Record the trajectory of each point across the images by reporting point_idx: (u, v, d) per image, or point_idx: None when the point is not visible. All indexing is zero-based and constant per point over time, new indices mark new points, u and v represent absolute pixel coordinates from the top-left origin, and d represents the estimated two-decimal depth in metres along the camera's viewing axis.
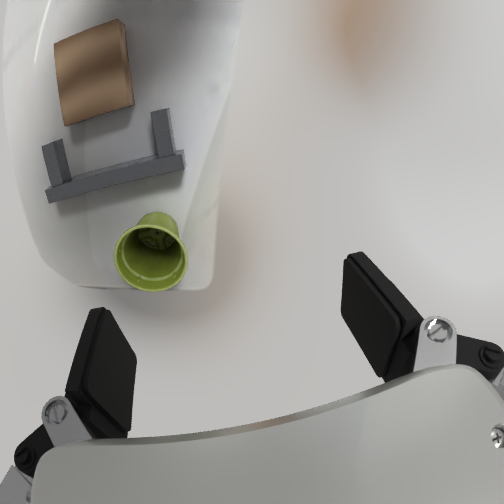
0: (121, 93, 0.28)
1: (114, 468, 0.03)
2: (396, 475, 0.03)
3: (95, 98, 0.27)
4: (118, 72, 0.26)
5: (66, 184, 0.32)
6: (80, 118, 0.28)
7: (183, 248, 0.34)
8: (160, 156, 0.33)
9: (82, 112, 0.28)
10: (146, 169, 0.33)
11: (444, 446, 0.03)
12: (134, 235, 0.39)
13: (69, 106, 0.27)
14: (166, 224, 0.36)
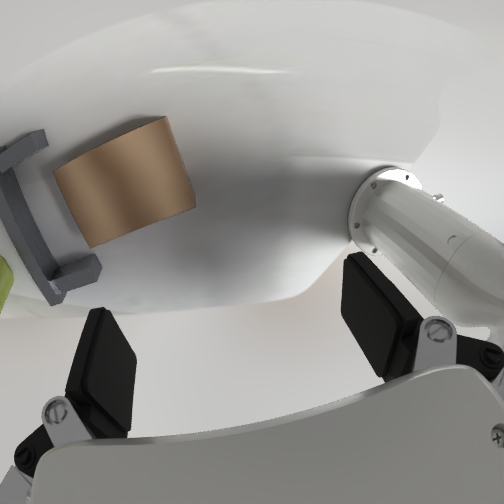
0: (100, 238, 0.26)
1: (114, 468, 0.03)
2: (396, 475, 0.03)
3: (89, 208, 0.25)
4: (123, 228, 0.26)
5: None
6: (63, 192, 0.23)
7: None
8: (52, 282, 0.28)
9: (70, 194, 0.23)
10: (36, 273, 0.26)
11: (444, 446, 0.03)
12: None
13: (75, 172, 0.23)
14: (3, 302, 0.26)
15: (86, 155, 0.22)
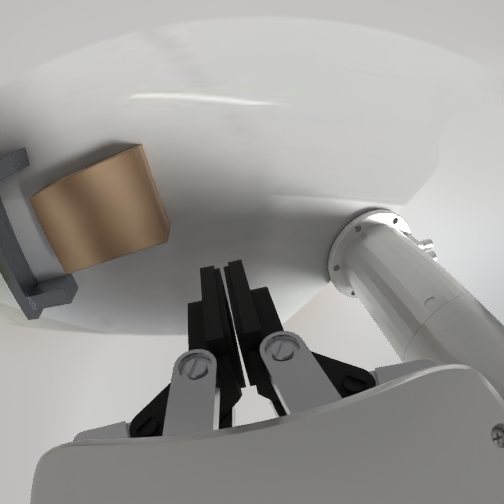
0: (75, 265, 0.25)
1: (114, 468, 0.03)
2: (396, 475, 0.03)
3: (64, 236, 0.24)
4: (97, 258, 0.26)
5: None
6: (40, 219, 0.22)
7: None
8: (30, 298, 0.27)
9: (46, 221, 0.23)
10: (15, 289, 0.25)
11: (444, 446, 0.03)
12: None
13: (50, 201, 0.22)
14: None
15: (60, 184, 0.21)
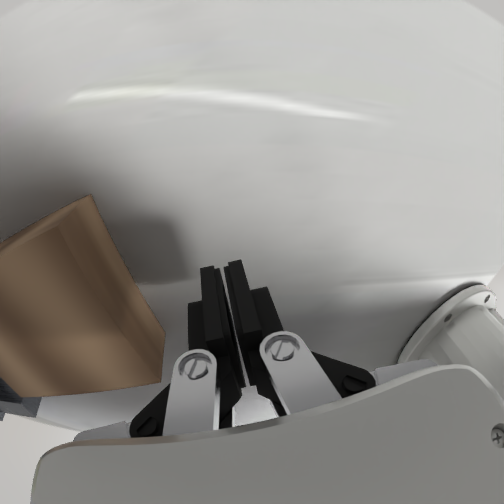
0: (28, 391, 0.13)
1: (114, 468, 0.03)
2: (396, 475, 0.03)
3: None
4: (53, 389, 0.13)
5: None
6: None
7: None
8: None
9: None
10: None
11: (444, 446, 0.03)
12: None
13: None
14: None
15: None
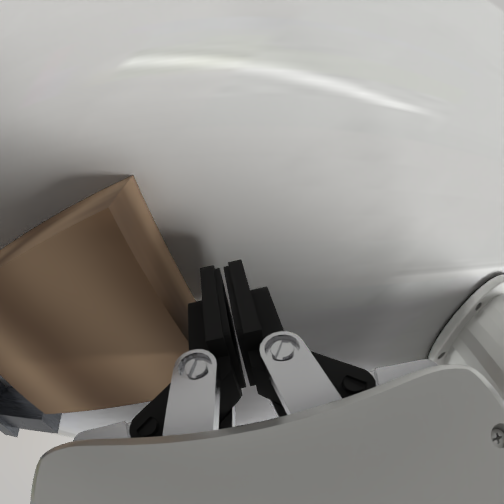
0: (54, 407, 0.12)
1: (114, 468, 0.03)
2: (396, 475, 0.03)
3: (18, 371, 0.10)
4: (86, 404, 0.12)
5: None
6: None
7: None
8: None
9: None
10: None
11: (444, 446, 0.03)
12: None
13: None
14: None
15: None
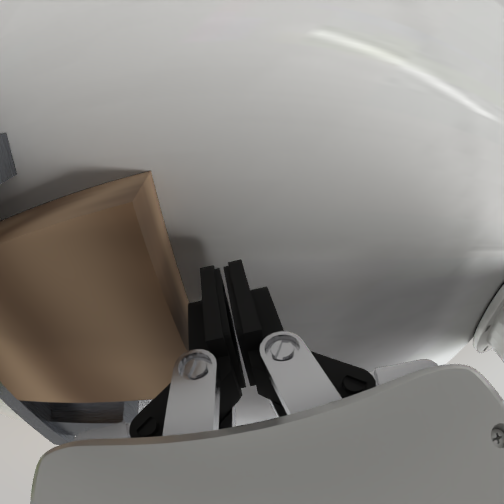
0: (29, 395, 0.11)
1: (114, 468, 0.03)
2: (396, 475, 0.03)
3: None
4: (64, 396, 0.11)
5: None
6: None
7: None
8: (53, 423, 0.13)
9: None
10: (23, 413, 0.12)
11: (444, 446, 0.03)
12: None
13: None
14: None
15: None
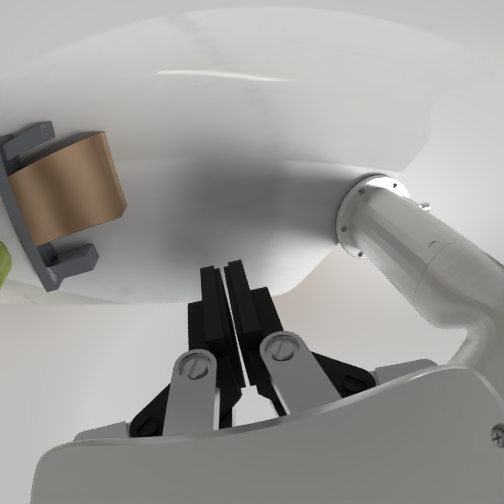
0: (43, 238, 0.26)
1: (114, 468, 0.03)
2: (396, 475, 0.03)
3: (34, 211, 0.25)
4: (61, 231, 0.27)
5: (4, 169, 0.21)
6: (15, 196, 0.23)
7: None
8: (50, 268, 0.29)
9: (20, 197, 0.23)
10: (35, 259, 0.27)
11: (444, 446, 0.03)
12: None
13: (24, 179, 0.23)
14: (0, 285, 0.26)
15: (33, 165, 0.22)
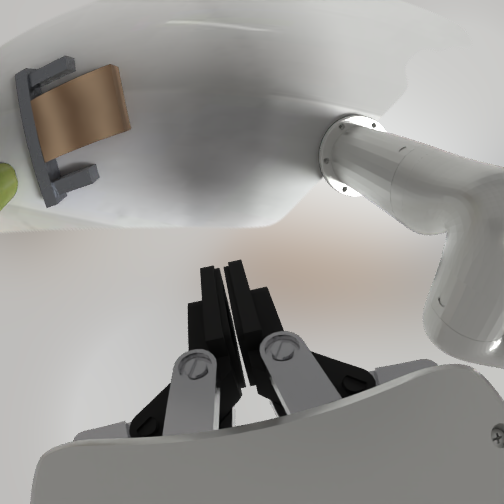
0: (53, 153, 0.29)
1: (114, 468, 0.03)
2: (396, 475, 0.03)
3: (49, 129, 0.27)
4: (70, 146, 0.29)
5: (28, 93, 0.24)
6: (34, 116, 0.25)
7: None
8: (53, 184, 0.31)
9: (39, 117, 0.26)
10: (41, 174, 0.29)
11: (444, 446, 0.03)
12: None
13: (45, 102, 0.25)
14: (4, 201, 0.28)
15: (55, 89, 0.25)
